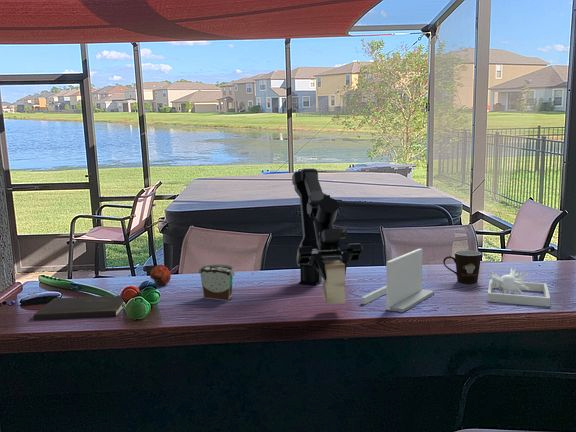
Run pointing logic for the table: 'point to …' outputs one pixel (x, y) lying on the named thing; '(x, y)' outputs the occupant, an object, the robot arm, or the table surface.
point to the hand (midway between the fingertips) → (334, 279)
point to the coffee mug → (466, 266)
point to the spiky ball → (509, 282)
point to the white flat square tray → (522, 298)
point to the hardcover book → (80, 308)
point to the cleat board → (402, 283)
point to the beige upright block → (334, 282)
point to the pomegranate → (160, 275)
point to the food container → (217, 281)
